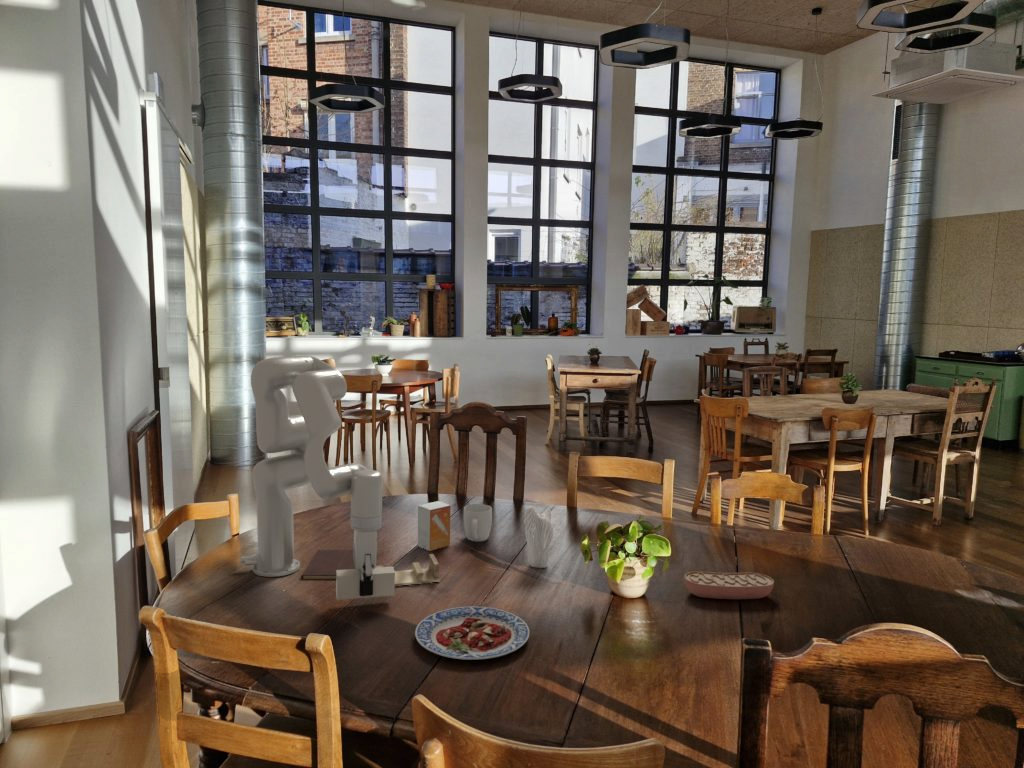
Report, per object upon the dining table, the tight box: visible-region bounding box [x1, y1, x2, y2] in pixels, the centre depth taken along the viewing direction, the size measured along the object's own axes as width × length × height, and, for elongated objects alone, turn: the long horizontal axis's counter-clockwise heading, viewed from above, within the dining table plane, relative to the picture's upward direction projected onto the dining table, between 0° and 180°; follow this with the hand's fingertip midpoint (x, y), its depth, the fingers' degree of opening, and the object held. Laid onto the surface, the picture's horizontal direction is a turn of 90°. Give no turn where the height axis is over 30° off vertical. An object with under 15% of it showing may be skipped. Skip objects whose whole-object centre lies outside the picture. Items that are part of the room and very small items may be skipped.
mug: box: [462, 503, 493, 543], centre depth 233 cm, size 13×9×10 cm
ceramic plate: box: [414, 605, 530, 661], centre depth 168 cm, size 26×26×3 cm
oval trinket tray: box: [684, 571, 775, 600], centre depth 194 cm, size 23×10×5 cm, turn 90°
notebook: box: [300, 548, 355, 580], centre depth 211 cm, size 15×20×2 cm
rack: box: [376, 553, 440, 586], centre depth 201 cm, size 20×9×5 cm, turn 107°
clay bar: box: [335, 566, 396, 601], centre depth 185 cm, size 14×4×6 cm, turn 106°
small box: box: [417, 500, 452, 552], centre depth 227 cm, size 8×6×13 cm
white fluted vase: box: [523, 505, 554, 569], centre depth 213 cm, size 8×8×18 cm
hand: (365, 590), depth 185 cm, fingers closed on clay bar, 4 cm apart
